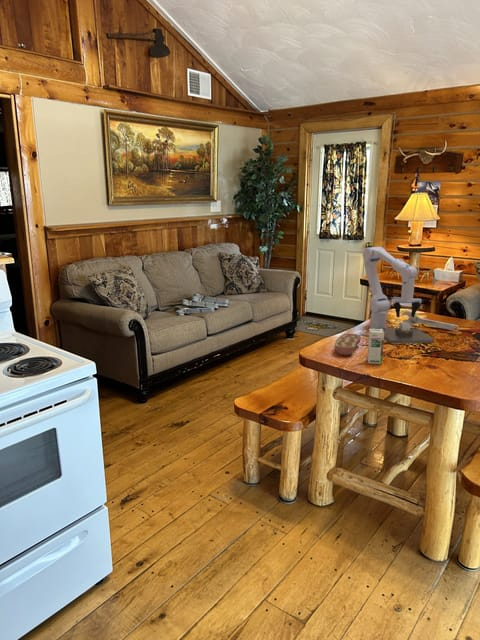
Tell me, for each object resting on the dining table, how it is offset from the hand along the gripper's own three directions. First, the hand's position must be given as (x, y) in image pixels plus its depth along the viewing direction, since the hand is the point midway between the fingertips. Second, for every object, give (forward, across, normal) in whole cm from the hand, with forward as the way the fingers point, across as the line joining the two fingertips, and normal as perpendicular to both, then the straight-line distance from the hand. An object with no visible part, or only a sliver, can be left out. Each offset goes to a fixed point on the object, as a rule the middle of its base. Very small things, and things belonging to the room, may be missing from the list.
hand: (405, 316), depth 246 cm
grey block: (+9, 0, 0) cm, 9 cm away
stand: (+10, 0, 0) cm, 10 cm away
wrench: (+11, +20, +15) cm, 27 cm away
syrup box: (+11, -27, -36) cm, 46 cm away
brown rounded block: (+11, -35, -19) cm, 41 cm away
